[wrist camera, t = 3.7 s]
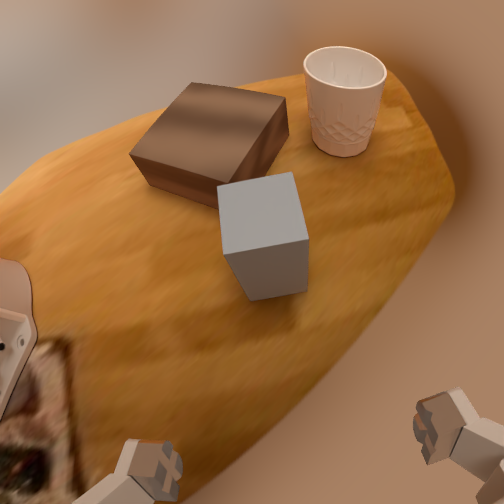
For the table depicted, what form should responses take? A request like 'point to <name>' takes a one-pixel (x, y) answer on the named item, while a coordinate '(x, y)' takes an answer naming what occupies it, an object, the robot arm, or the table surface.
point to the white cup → (343, 98)
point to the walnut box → (212, 141)
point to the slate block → (265, 235)
